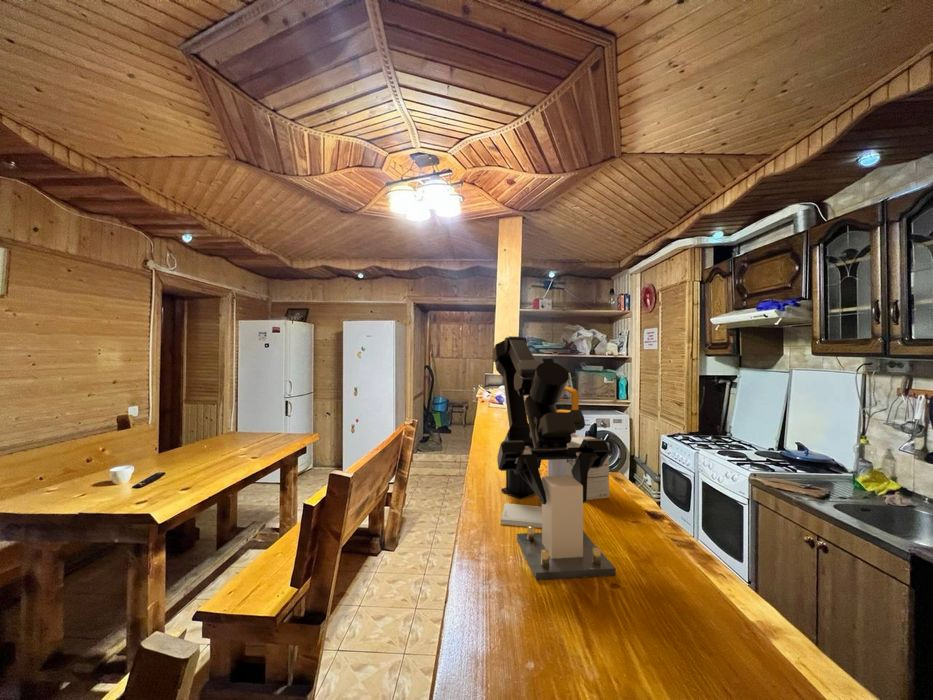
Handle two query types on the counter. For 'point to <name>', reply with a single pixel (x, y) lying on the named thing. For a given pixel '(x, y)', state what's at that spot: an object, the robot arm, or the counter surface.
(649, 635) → the counter surface
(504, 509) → the hard drive
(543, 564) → the chassis plate
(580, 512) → the cream block
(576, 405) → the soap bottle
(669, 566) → the counter surface
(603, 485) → the supplement box
